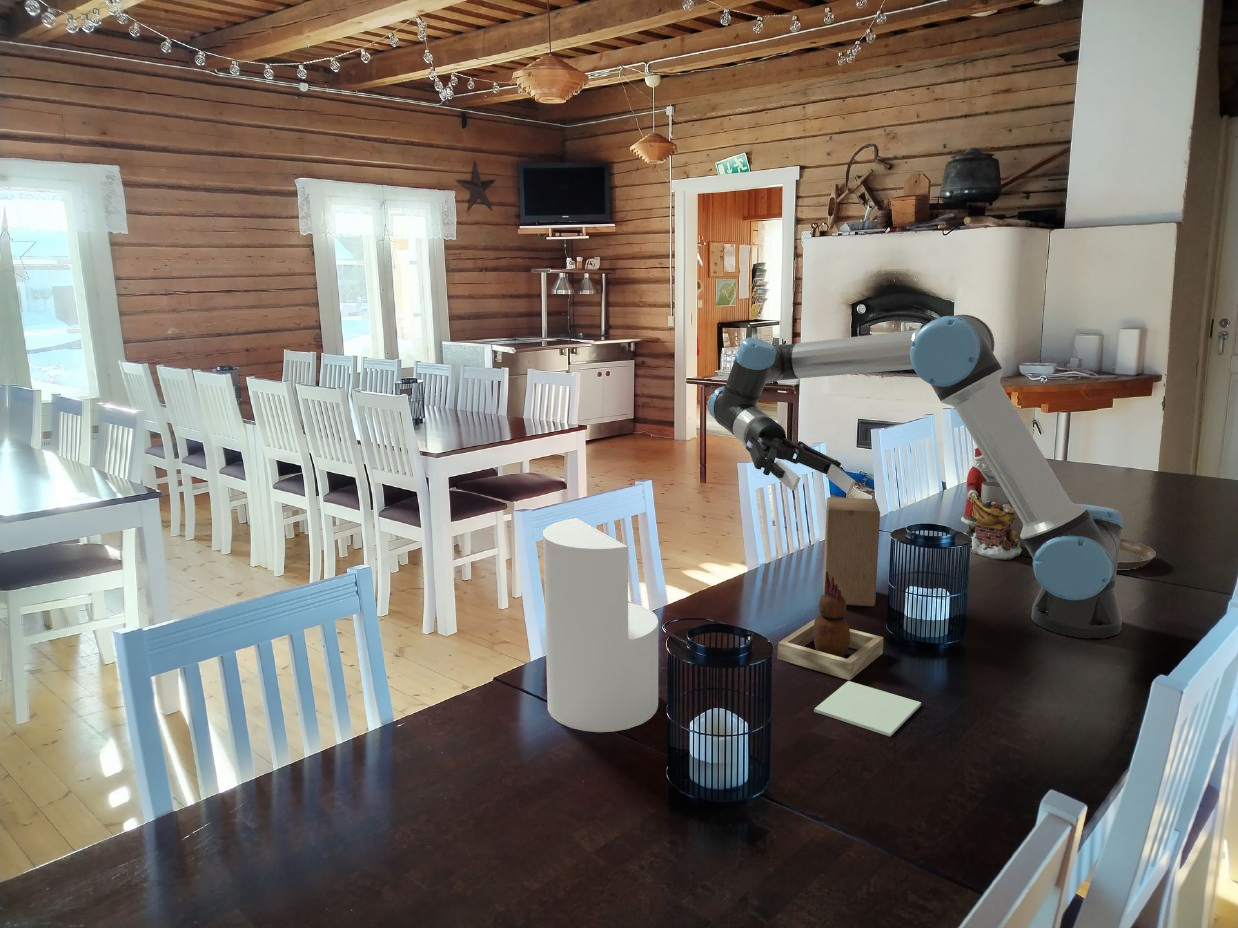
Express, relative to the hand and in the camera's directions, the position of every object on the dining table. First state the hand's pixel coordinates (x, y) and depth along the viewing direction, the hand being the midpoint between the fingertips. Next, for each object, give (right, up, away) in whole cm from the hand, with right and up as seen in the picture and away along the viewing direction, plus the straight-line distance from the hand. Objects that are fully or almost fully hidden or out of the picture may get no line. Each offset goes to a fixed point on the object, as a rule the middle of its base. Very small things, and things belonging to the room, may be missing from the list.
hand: (824, 486), depth 159 cm
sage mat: (+1, -34, -25) cm, 42 cm away
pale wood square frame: (0, -30, -6) cm, 30 cm away
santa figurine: (+52, -17, +53) cm, 76 cm away
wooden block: (+10, -24, +22) cm, 34 cm away
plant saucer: (+75, -19, +45) cm, 89 cm away
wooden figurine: (0, -30, -6) cm, 30 cm away
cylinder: (-40, -34, -22) cm, 57 cm away
